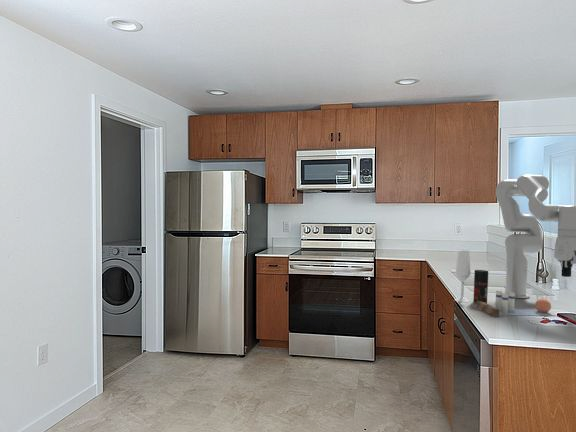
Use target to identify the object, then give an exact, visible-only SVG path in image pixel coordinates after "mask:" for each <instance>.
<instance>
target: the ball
mask: <svg viewBox="0 0 576 432" xmlns="http://www.w3.org/2000/svg"><path fill="white" fill-rule="evenodd" d="M534 307H535V309H537V310H538V311H539V312H542V313H546V312H548V313H549V311H551V308H552V304H551V302H550V301H549V300H548V299H545V298H539V299H537V300H536V301H535V304H534Z"/></svg>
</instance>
